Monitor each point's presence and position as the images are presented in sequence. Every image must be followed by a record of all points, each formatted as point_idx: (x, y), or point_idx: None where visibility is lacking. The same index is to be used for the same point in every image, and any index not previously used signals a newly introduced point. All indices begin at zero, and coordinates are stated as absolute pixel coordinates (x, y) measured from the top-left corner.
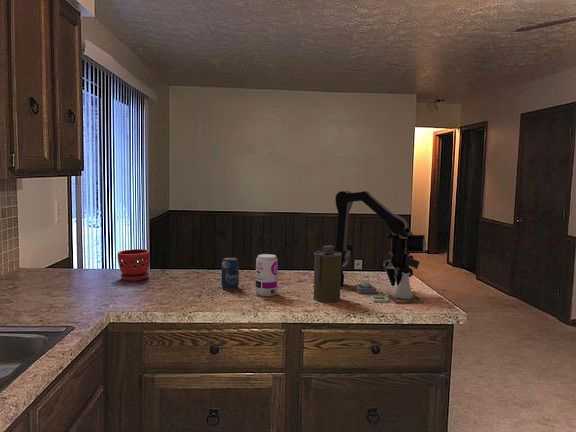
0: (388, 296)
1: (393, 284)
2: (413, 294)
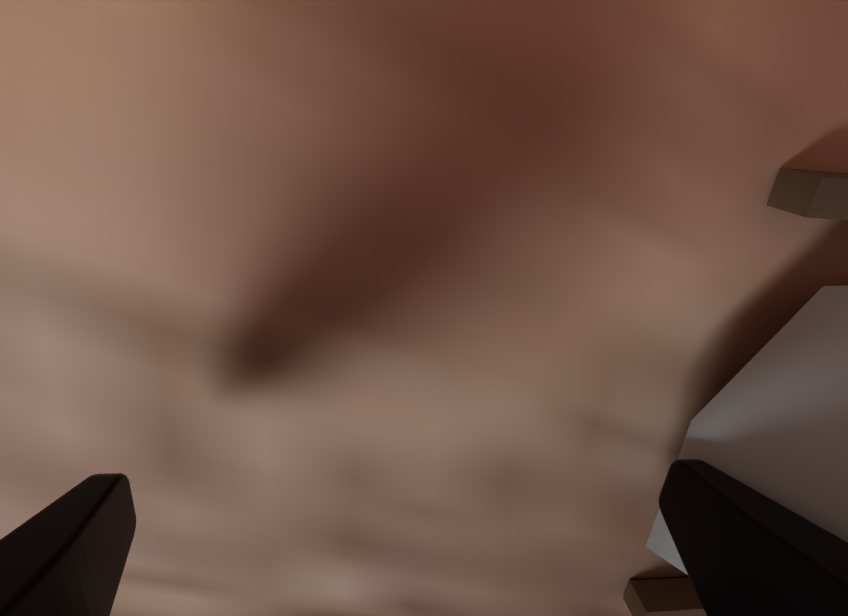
0: (638, 601)
1: (108, 533)
2: (824, 186)
